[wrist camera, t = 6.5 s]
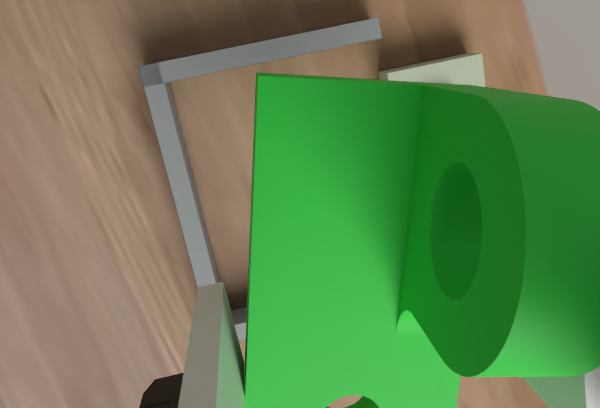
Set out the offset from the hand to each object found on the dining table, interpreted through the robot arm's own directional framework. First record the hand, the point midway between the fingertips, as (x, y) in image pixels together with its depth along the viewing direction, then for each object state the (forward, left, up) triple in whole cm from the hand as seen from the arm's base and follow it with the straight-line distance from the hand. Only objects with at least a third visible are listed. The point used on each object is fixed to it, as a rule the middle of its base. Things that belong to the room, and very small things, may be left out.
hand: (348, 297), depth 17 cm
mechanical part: (0, 0, 0) cm, 1 cm away
